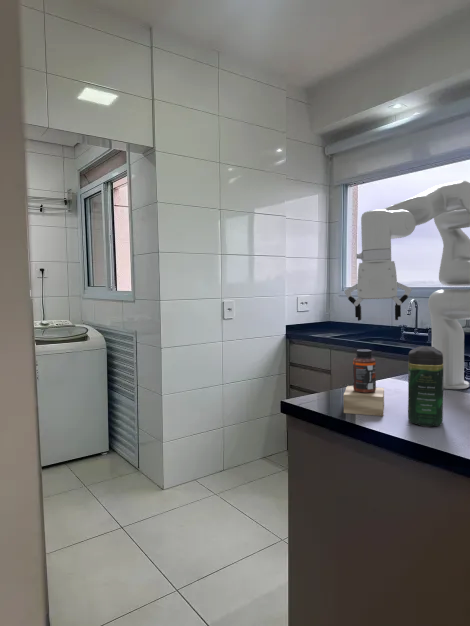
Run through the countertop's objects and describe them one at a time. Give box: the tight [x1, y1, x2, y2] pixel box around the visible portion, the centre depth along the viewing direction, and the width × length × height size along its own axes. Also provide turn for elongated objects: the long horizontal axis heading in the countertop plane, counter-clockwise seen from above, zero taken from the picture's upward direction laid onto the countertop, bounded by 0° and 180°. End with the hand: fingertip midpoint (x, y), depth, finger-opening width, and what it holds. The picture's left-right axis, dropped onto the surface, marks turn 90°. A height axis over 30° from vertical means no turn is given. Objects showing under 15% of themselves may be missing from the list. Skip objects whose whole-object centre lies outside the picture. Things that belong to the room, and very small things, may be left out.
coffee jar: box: [407, 345, 444, 428], centre depth 103 cm, size 10×8×19 cm
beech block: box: [343, 385, 385, 417], centre depth 115 cm, size 10×10×5 cm
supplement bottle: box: [352, 348, 377, 393], centre depth 115 cm, size 6×6×11 cm
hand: (377, 319), depth 115 cm, fingers open, 9 cm apart
